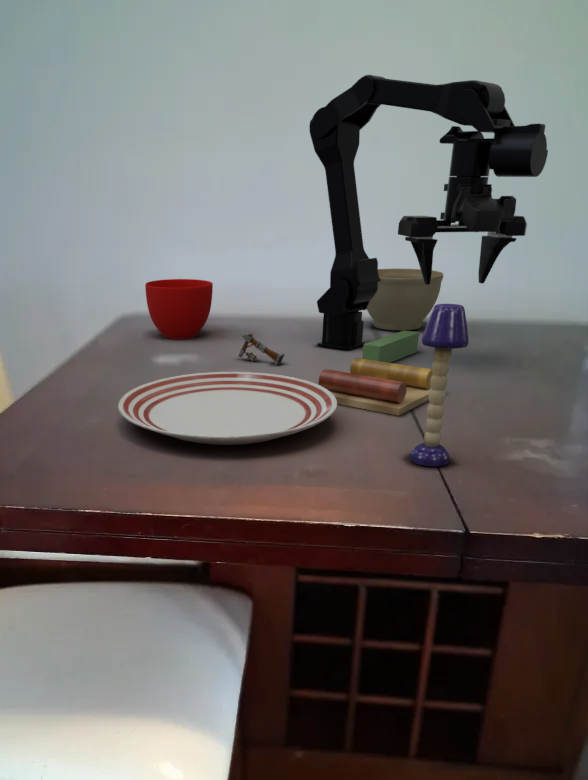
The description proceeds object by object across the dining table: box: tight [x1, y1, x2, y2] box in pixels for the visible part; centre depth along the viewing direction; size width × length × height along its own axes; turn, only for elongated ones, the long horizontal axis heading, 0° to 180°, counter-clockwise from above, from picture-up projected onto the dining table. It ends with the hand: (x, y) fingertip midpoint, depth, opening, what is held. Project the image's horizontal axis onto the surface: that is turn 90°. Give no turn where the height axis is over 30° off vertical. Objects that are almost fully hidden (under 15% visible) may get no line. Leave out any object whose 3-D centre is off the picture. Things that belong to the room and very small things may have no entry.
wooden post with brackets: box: [237, 332, 286, 366], centre depth 125 cm, size 2×8×4 cm, turn 58°
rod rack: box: [318, 357, 433, 417], centre depth 105 cm, size 14×14×4 cm
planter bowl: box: [366, 267, 444, 331], centre depth 151 cm, size 16×16×11 cm
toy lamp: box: [409, 303, 469, 467], centre depth 79 cm, size 5×5×17 cm
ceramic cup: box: [144, 278, 214, 340], centre depth 146 cm, size 13×17×10 cm
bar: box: [361, 330, 420, 363], centre depth 127 cm, size 3×15×4 cm, turn 141°
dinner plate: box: [117, 371, 338, 446], centre depth 94 cm, size 28×27×3 cm
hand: (454, 283), depth 119 cm, fingers open, 9 cm apart
